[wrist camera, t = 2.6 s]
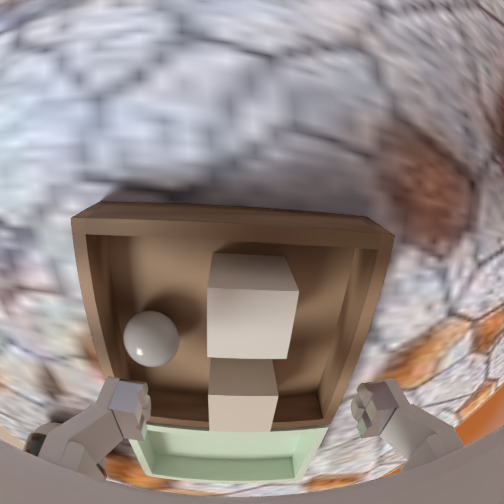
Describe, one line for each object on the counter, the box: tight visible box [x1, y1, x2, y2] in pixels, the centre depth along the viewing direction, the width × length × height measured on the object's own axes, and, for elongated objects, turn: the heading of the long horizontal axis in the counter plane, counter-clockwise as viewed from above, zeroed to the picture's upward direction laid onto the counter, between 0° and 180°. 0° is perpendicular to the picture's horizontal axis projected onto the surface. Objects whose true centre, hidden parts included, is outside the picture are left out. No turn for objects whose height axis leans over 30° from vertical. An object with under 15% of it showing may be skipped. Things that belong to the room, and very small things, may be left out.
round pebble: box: [123, 311, 180, 367], centre depth 16 cm, size 3×3×3 cm
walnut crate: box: [71, 202, 395, 428], centre depth 17 cm, size 15×16×4 cm
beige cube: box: [208, 357, 278, 432], centre depth 18 cm, size 4×4×4 cm
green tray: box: [129, 421, 329, 483], centre depth 22 cm, size 11×16×4 cm
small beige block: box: [207, 253, 299, 359], centre depth 15 cm, size 4×4×4 cm
